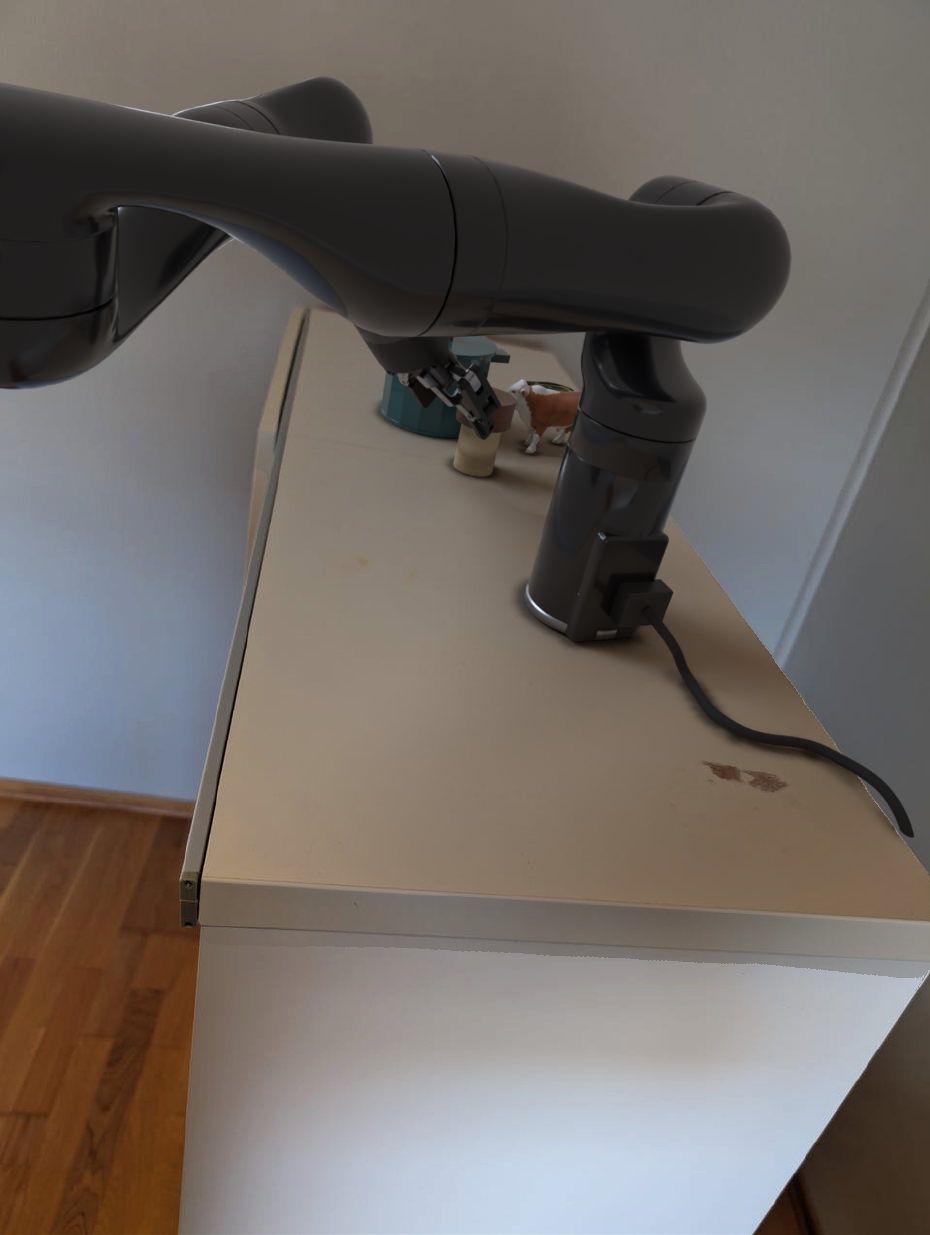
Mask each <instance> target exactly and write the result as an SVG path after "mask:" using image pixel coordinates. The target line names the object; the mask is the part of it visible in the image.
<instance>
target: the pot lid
mask: <svg viewBox="0 0 930 1235" xmlns="http://www.w3.org/2000/svg"><path fill="white" fill-rule="evenodd" d="M449 349H450V350H451V351H452V352H453V353H454V354H455V355H456V357H457V359H461V360H482V359H488V358H491V357H493V356H494V355H495V354H496V352H497V349H498V345H497V344H496V343H495V342H494V341H493V340H492V339H490V338H489V337H487V336H486V335H485V336H470V337H450V342H449Z"/></svg>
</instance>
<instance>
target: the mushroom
mask: <svg viewBox="0 0 930 1235" xmlns="http://www.w3.org/2000/svg"><path fill="white" fill-rule="evenodd" d="M491 387H492V386H491ZM492 389H493V391H494V392H495V394H496V396H497V398H498V399H499V401H500V403H501V406H500V408H499V409H497V411H496V412H495V413H494V414H493V415H492V416H493V418H494V420H495V422H496V425H497V427H496V428H495V429H494V431H493V432H492V433H491V434H490V436H489V437H487V439H485V440H482V439H481V438H479V437H477V435H476V433H475V432H474V430H473V428H472V426H471V425H470V423H469V421H468V420H467V417H466V416H465V415H464V414H463V413H462V412H461V411H460V410H459V409H458V408H457V411H456V419H457V420H458V421H459V422H460V423H461V429H460V434H459V437H458V439H457V444H456V449H455V454H454V459H453V467H454V469H456V470H457V471H459V472H460V473H461V474H462V473H463V474H465V475H468V476H471V477H480V478H481V477H488V476H490V475H492V474H493V471H494V466H495V463H496V459H497V454H498V449H499V445H500V441H501V436H502V433H506V432H508V431H509V430H510V429H511V427H512V422H513V418H514V413H515V411H516V410H515V405H516V399H515V398H514V397H513V396H512V395H511V394H509V393H507V392H506V390H503V389H500V388H496V387H494V386H493V387H492ZM463 402H464V403H465V404H466V405H467V406H468V404H467V403H466V401H465V399H464V398H463ZM468 407H469V406H468Z"/></svg>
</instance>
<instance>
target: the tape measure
mask: <svg viewBox="0 0 930 1235" xmlns="http://www.w3.org/2000/svg"><path fill="white" fill-rule="evenodd" d="M525 381H526V382H527V384H528V386H534V385H540V386H543V387H544V388H546V389H551V390H555V391H563V392H568V391H575V390H574V389H573V388H571V387H568V386H566V385H564V384H559V383H556V382H551V381H534V380H533V381H531V380H525Z"/></svg>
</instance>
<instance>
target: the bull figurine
mask: <svg viewBox="0 0 930 1235" xmlns="http://www.w3.org/2000/svg"><path fill="white" fill-rule="evenodd" d="M526 381H527V380H525V379H524V378H522V379H519V380H518V381H516V382H514V383H512V384H511V385H510V387H509V388H508V389H507V390H505V392H507V393H509V394H511V395H512V396H513V397H514V398H515V399H516V405H515V410H514V411H518V414H519V418H520V420H521V421H522V423H523V424H524V426H525V428H526V429H528V430H527V431H528V433H529V435H528V436H529V437H528V438H527V439H526V441H525V442H523V443H524V445H525V446H527V448H526V449H525V451H524V452H525V453H526V454H528V455H533V454H534V453H535V452H536V451H537V444H538V442H539V441H541V440H542V437H543V436H544V433H545V432H546V431H547V430H548V428H555V432H556V433H560V434H558V436H557V435H556V437H554V438H553V440H551V442H552V443H553V444H556V445H559V444H560V443H561V442H565V440H566V437H567V435H569V434H570V431H571V427H572V424H573V420H574V416H575V413H576V409H577V405H578V403H579V398H580V394H581V390H574V391H568V392H563V391H555V390H551V389H546V388H544V387H543V386H540V385H534V386H528V384H527V382H526Z"/></svg>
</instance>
